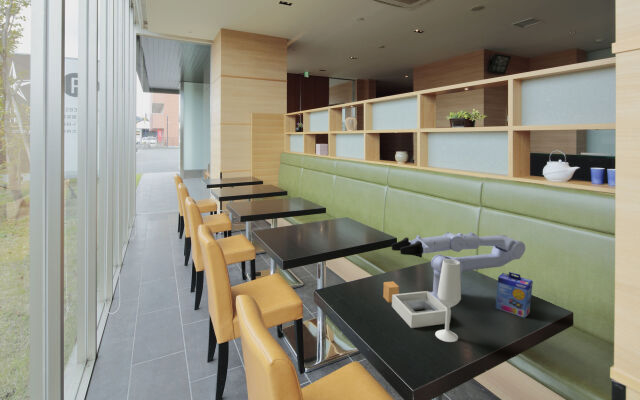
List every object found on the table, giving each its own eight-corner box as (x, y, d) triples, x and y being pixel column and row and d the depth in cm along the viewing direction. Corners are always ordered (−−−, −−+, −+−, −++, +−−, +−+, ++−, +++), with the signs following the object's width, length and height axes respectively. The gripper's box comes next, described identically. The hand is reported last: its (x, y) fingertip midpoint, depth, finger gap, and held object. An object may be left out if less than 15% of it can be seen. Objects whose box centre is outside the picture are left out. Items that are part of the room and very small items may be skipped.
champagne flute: (450, 328, 111) (455, 257, 107) (462, 340, 104) (468, 265, 100) (431, 330, 110) (435, 258, 106) (441, 343, 103) (446, 266, 99)
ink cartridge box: (494, 308, 124) (497, 270, 121) (499, 303, 128) (503, 266, 125) (525, 318, 117) (529, 278, 115) (529, 312, 121) (534, 273, 118)
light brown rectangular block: (392, 295, 134) (393, 281, 133) (398, 301, 130) (399, 286, 129) (383, 296, 134) (383, 282, 133) (388, 302, 129) (388, 287, 128)
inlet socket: (425, 306, 126) (425, 298, 126) (440, 319, 116) (441, 311, 116) (399, 309, 124) (400, 301, 123) (413, 323, 114) (413, 314, 114)
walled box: (426, 302, 129) (427, 291, 128) (450, 322, 114) (450, 310, 114) (391, 306, 126) (392, 294, 125) (411, 328, 112) (411, 315, 111)
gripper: (420, 231, 135) (387, 235, 132) (440, 237, 121) (404, 241, 118) (421, 249, 135) (389, 253, 133) (441, 256, 121) (405, 261, 119)
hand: (396, 249), depth 125 cm, fingers open, 7 cm apart
